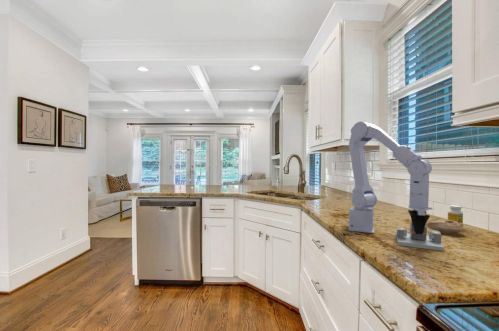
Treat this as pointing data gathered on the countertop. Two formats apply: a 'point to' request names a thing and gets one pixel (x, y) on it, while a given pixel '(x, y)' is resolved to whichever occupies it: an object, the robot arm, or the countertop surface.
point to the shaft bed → (430, 243)
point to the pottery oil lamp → (446, 226)
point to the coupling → (417, 236)
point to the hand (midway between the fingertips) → (417, 232)
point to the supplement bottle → (455, 214)
